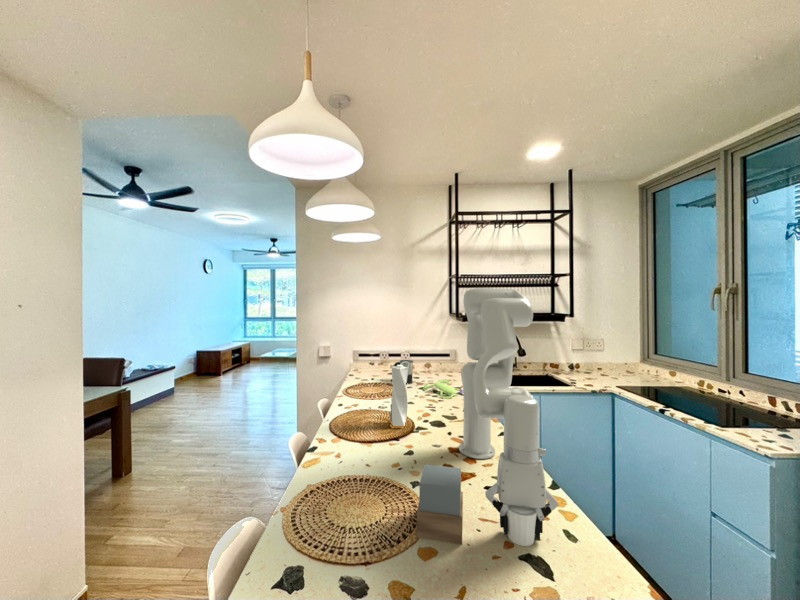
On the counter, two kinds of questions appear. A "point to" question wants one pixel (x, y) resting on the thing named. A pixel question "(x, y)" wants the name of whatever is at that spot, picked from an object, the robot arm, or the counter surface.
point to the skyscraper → (399, 395)
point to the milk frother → (410, 369)
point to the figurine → (444, 388)
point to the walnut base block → (440, 525)
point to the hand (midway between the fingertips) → (520, 531)
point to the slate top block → (440, 490)
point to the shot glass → (521, 524)
